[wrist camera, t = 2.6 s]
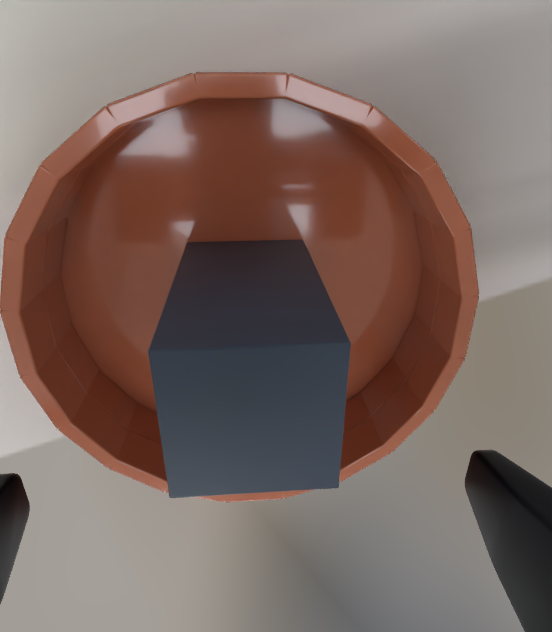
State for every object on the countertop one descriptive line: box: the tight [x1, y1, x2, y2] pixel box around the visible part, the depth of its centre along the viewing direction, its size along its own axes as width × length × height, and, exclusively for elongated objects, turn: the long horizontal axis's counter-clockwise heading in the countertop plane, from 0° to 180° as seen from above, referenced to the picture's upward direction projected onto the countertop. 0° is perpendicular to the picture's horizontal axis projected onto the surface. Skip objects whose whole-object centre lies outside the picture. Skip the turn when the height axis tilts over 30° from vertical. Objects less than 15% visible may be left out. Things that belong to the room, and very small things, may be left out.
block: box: [148, 240, 351, 498], centre depth 14 cm, size 4×4×8 cm
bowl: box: [0, 72, 479, 502], centre depth 16 cm, size 15×15×4 cm
